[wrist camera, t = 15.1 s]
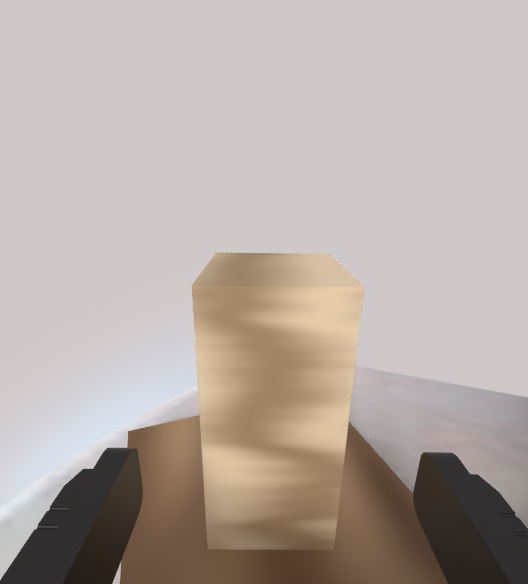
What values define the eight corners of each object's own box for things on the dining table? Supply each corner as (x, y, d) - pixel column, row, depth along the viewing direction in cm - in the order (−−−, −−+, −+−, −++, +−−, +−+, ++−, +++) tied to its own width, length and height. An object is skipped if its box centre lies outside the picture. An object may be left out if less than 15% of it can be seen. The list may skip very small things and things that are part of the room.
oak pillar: (314, 450, 19) (329, 254, 15) (333, 550, 14) (364, 287, 10) (222, 450, 19) (216, 252, 15) (207, 549, 14) (192, 285, 10)
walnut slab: (317, 420, 26) (319, 388, 25) (479, 635, 13) (496, 588, 13) (133, 467, 21) (128, 431, 20) (122, 863, 9) (107, 816, 8)
